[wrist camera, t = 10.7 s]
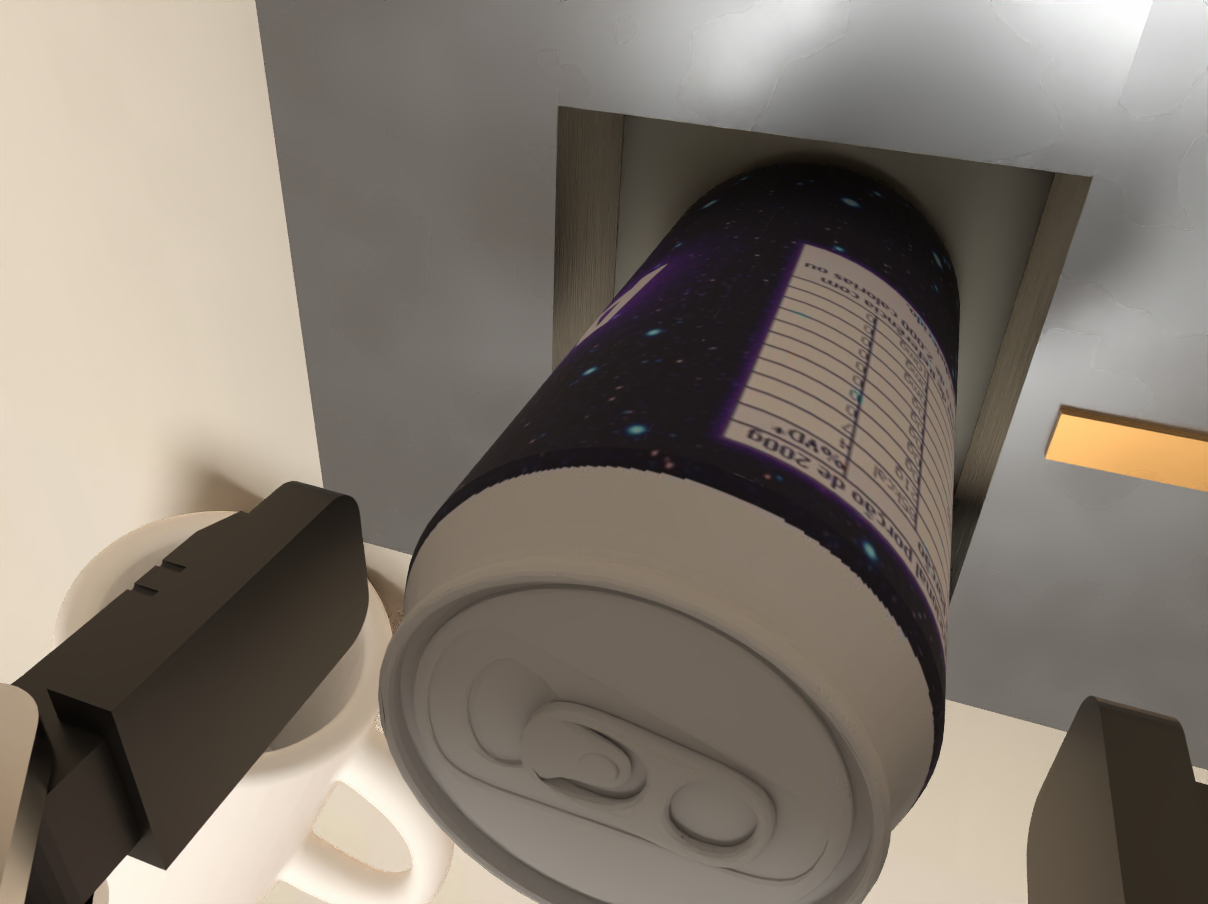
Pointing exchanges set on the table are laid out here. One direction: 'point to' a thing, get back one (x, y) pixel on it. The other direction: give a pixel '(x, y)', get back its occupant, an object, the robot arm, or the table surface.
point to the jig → (811, 111)
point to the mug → (278, 771)
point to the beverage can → (703, 570)
